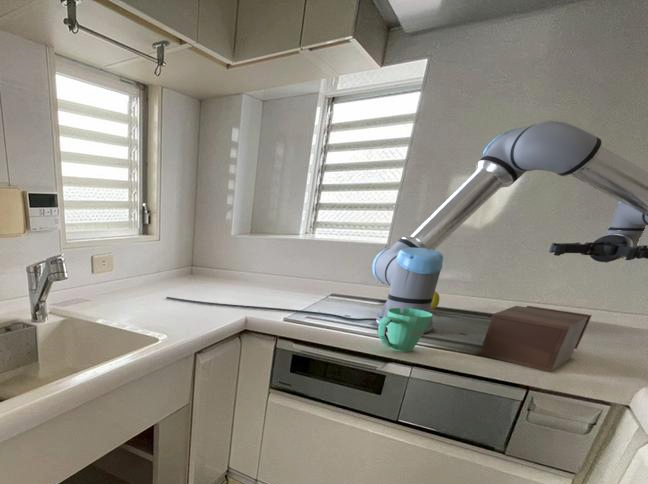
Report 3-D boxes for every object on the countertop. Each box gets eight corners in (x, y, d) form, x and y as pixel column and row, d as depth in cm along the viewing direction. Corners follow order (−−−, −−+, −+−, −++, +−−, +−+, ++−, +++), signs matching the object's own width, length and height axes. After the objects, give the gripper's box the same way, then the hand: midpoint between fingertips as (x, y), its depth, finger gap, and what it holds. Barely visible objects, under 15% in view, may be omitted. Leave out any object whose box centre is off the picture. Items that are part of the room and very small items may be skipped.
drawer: (522, 333, 117) (534, 303, 113) (582, 344, 107) (597, 312, 104) (497, 345, 107) (508, 312, 103) (560, 359, 97) (576, 323, 94)
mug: (396, 341, 113) (404, 306, 109) (430, 352, 105) (441, 314, 101) (358, 348, 108) (366, 311, 104) (392, 360, 99) (402, 320, 96)
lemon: (415, 309, 148) (420, 288, 145) (431, 310, 147) (437, 288, 144) (421, 313, 143) (427, 291, 140) (438, 314, 142) (445, 291, 139)
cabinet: (502, 344, 111) (515, 305, 107) (570, 358, 100) (588, 316, 96) (479, 355, 103) (493, 313, 99) (550, 372, 92) (569, 326, 88)
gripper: (670, 266, 109) (656, 272, 98) (549, 257, 128) (526, 261, 117) (684, 236, 106) (672, 240, 95) (558, 232, 125) (535, 234, 114)
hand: (591, 252), depth 106 cm, fingers open, 13 cm apart
